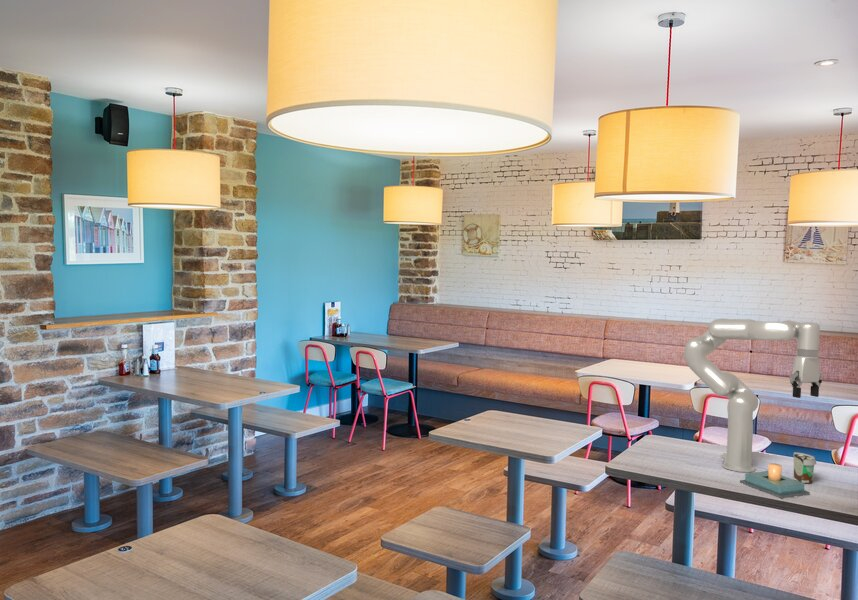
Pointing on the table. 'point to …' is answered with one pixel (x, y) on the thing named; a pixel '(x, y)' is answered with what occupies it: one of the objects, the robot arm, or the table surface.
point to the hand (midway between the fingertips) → (805, 396)
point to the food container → (803, 467)
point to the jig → (775, 485)
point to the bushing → (774, 472)
